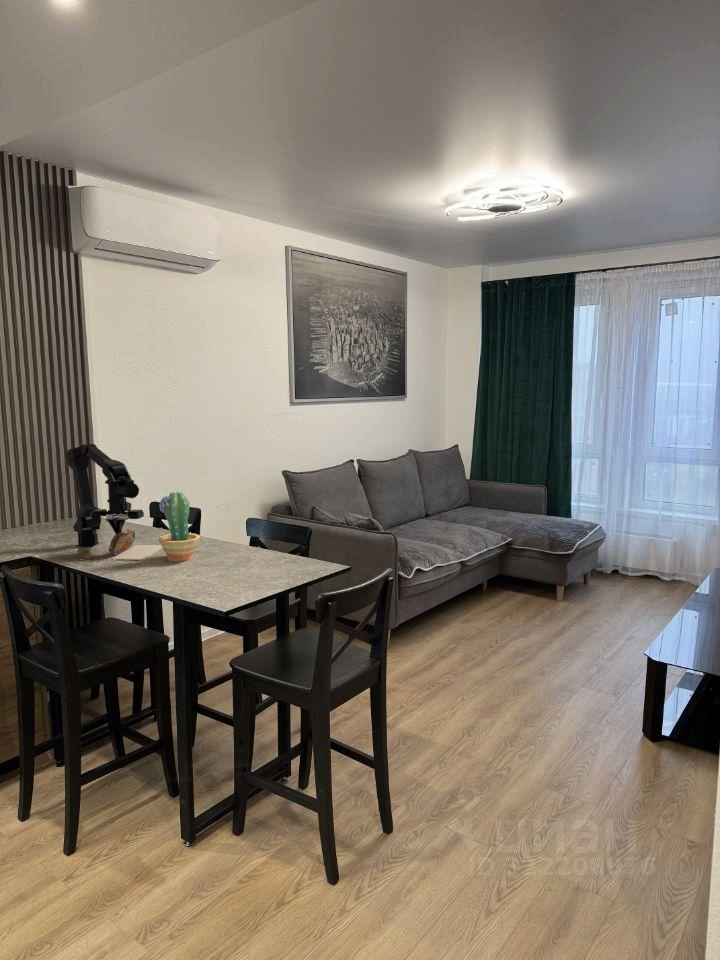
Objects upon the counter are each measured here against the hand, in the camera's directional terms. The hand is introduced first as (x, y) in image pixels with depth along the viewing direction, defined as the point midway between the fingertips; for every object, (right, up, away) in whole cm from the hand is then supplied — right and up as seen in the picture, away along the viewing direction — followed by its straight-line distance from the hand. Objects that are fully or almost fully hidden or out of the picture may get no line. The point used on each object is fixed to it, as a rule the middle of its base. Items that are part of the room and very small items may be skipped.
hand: (118, 536), depth 254 cm
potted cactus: (+26, -8, -7) cm, 28 cm away
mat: (+8, -7, 0) cm, 10 cm away
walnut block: (-10, -8, -8) cm, 15 cm away
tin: (0, -6, +1) cm, 6 cm away
